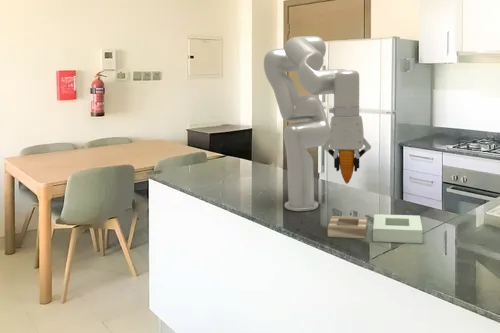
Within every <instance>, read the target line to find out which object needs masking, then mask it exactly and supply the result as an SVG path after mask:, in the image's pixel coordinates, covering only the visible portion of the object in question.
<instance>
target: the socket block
mask: <svg viewBox="0 0 500 333" xmlns="http://www.w3.org/2000/svg"><path fill="white" fill-rule="evenodd" d="M367 230H368V217H366V216H339V215H334V216H333V215H331V217H330V220H329V222H328V226H327V237H329V238H347V239H348V238H351V239H367V232H368V231H367Z"/></svg>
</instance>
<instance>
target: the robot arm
mask: <svg viewBox="0 0 500 333" xmlns="http://www.w3.org/2000/svg"><path fill="white" fill-rule="evenodd" d="M326 50H327V46H326V43H325V41H324V39H323V38H322V37H320V36H318V35H310V36H308V35H307V36H306V35H305V36H301V35H300V36H293V37H290V38H289V39H288V40H287V41H286V42H285V43H284V45H283V48H275V49H272V50H270V51H267V53H266V54H265V55H264V59H263V69H264V70H263V71H264V73H265V76H266V79H267V81H268V83H269V84H270V86H271V88H272V90H273V92H274V96H275V99H276V100H275V101H276V103H277V106H278V109H279V113H280V115H281V118H282V119H283V121H285V122H289V123H290V124H288V125H286V126H285V128H284V129H283V141H284V147H285V151H286V165H287V166H286V167H287V168H286V169H287V195H288V196H287V197H288V201H285V203H284V208H285V209H286V210H289V211H293V212H308V211H313V210H316V209H318V208H319V202H318V201H316V200H315V191H314V190H315V186H314V184H315V183H314V182H315V181H314V160H313V157H312V155H311V154H310V153H309V151H308V149H309V148H316V147H317V148H318V147H322V149H323V150H325V152H327V153H328V154H329V155H330V156H331V157H332V158H333V163H334V164H333V166H334V169H336V172H339V171H340V164H339V150H354V152H355V159H354V169H353V172H356V173H357V172H358V169H360V158H361V157H363V155H364V154H365V153H367V152H368V151H369V150H371V148H372V145H371V144H370V143H369V142H368V141H367V139H366V138H365V135H364V134H365V133H364V123H363V118H362V115H360V73H359V72H358V70H353V69H351V70H347V69H343V68H336V69H332V68H331V69H322V67H323V64H324V57H325V55H326ZM287 72H297V77H298V82H299V83H300V85H301V87H303V88H304V90H306V91H307V93H309V94H300V93H299V91H298V88H297V84H296V83H295V81H294V80H293V79H292V78H291V77H289V76H288V74H286V73H287ZM321 95H333V107H331V108H329V110H328V111H329V113H330V114H332V115H333V116H331V118H330V124H329V121H328V118H327V114H326V112H325V109H324V104H323V103H322V101H321V99H320V98H319V96H321ZM292 122H294V123H292Z"/></svg>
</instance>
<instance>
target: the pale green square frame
mask: <svg viewBox="0 0 500 333" xmlns="http://www.w3.org/2000/svg"><path fill="white" fill-rule="evenodd" d="M423 232H424V231H423V226H422V220H421V216H420V215H417V214H416V215H411V214H409V215H408V214H379V213H378V214H376V213H375V214H374V215H373V227H372V242H381V243H383V242H384V243H385V242H386V243H405V244H423V235H424V234H423Z"/></svg>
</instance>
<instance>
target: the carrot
mask: <svg viewBox="0 0 500 333" xmlns="http://www.w3.org/2000/svg"><path fill="white" fill-rule="evenodd" d="M338 155H339V164H340V169H339V171H340V174H341V176H342V179H343V181H344V183H345V184H346V185H347V184H349V183H350V181H351V179H352V177H353V173H354V159H355V156H356V155H355V152H354V150H339V153H338Z"/></svg>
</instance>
